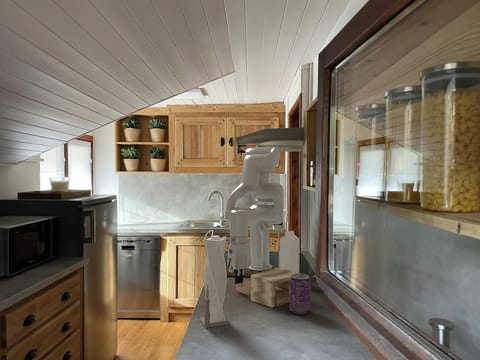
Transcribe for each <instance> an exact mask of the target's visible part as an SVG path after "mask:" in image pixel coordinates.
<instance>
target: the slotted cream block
mask: <svg viewBox="0 0 480 360" xmlns="http://www.w3.org/2000/svg"><path fill="white" fill-rule="evenodd" d="M292 274H301V272H300V271H299V272H295V271H291V270H286V269H282V268H280V267H273V268H272V269H270V270H265V271H261V272H260V271H259V272H258V273H253V274H250V282H251V292H248V295H247V299H250V301H251V302H253V303H258V304H259V305H262V306H266V307H269V308H274V307H276V308H278V307H279V308H280V307H281V306H284V305H286V304H289V287H290V279H291V275H292ZM275 289H277V290H278V294H276V298H275Z"/></svg>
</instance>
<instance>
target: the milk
mask: <svg viewBox="0 0 480 360" xmlns="http://www.w3.org/2000/svg"><path fill="white" fill-rule="evenodd" d="M279 268H282V269H286V270H291V271H295V272H299V273H300V238H299V237H298V236H297V235H295V231H294V230H288V231H285V233H284V235H283V236H281V237H280V238H279Z"/></svg>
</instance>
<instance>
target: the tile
mask: <svg viewBox="0 0 480 360" xmlns="http://www.w3.org/2000/svg"><path fill="white" fill-rule="evenodd" d="M235 292H238V293H240V294H243V295H247V296H248V292H251V280H250V281H249V280H247V281H243V282H242V283H239V284H235ZM276 294H278V290H277V289H275V299H276Z"/></svg>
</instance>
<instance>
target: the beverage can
mask: <svg viewBox="0 0 480 360" xmlns="http://www.w3.org/2000/svg"><path fill="white" fill-rule="evenodd" d="M288 304H289V305H288V306H289V307H288V309H289V311H290V312H291V313H294V314H296V315H301V316H303V315H307V314H308V313H311V311H312V282H311V279H310V275H309V274H304V273H300V274H292V275H291V279H290V287H289V303H288Z"/></svg>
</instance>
